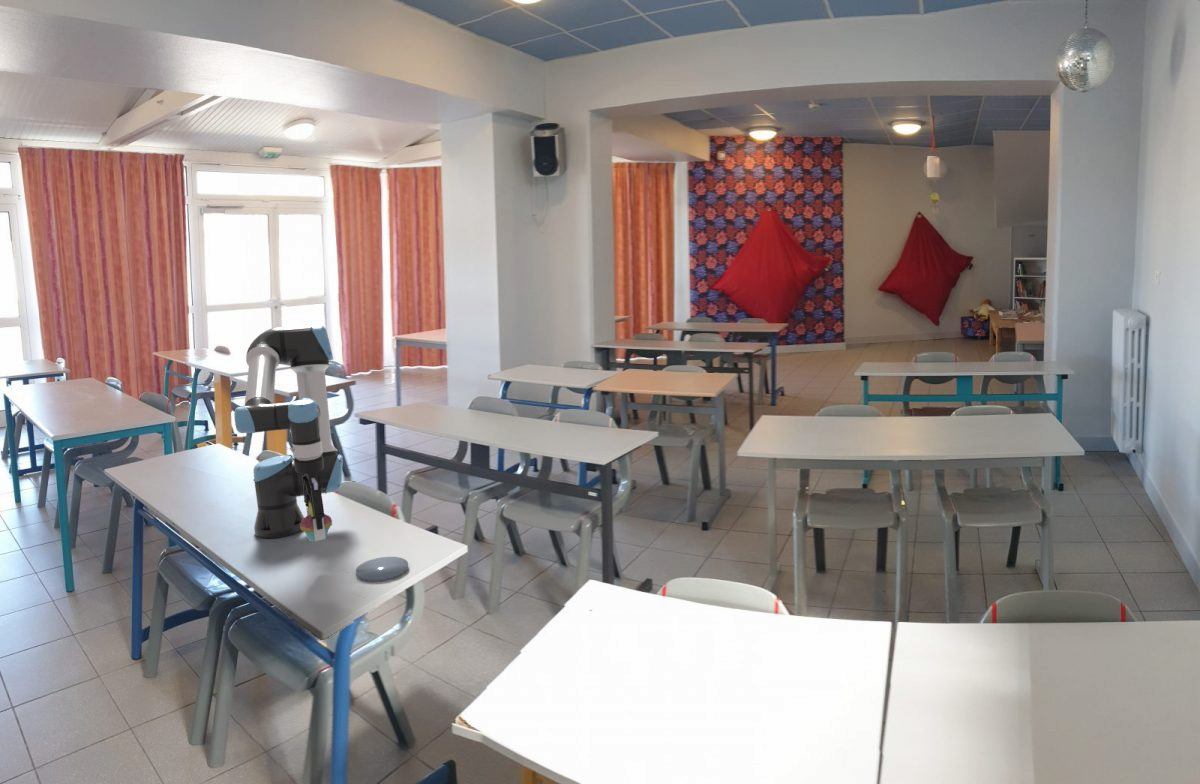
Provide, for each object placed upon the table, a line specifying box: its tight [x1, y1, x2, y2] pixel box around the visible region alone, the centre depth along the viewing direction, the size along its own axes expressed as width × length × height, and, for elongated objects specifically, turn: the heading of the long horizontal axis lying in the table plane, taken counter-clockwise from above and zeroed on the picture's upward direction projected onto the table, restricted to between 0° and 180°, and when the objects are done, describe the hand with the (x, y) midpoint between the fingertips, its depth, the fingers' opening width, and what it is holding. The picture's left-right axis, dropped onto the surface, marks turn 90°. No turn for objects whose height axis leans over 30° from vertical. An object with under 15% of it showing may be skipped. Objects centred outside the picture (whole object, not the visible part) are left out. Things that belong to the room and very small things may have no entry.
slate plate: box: [355, 556, 409, 583], centre depth 221 cm, size 14×14×1 cm
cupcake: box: [300, 502, 333, 543], centre depth 223 cm, size 9×8×12 cm
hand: (317, 533), depth 224 cm, fingers closed on cupcake, 8 cm apart
